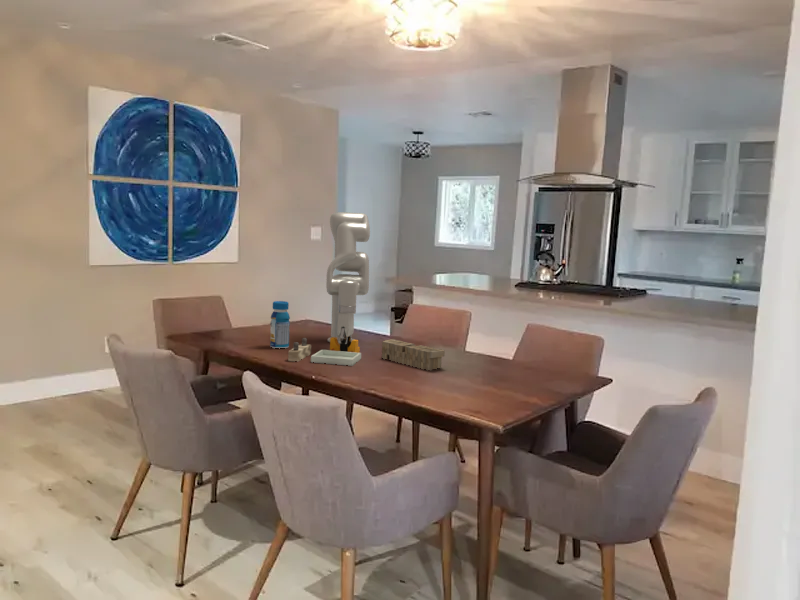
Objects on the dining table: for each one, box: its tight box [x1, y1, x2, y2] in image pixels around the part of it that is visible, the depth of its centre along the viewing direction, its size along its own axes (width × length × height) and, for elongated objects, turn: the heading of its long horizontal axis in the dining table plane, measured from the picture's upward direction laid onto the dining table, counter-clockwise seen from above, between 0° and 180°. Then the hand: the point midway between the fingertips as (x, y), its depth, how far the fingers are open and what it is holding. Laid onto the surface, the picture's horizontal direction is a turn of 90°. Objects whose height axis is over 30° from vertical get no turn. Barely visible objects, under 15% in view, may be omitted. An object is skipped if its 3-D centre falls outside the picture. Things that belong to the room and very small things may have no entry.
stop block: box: [287, 337, 312, 362], centre depth 260 cm, size 16×4×7 cm, turn 169°
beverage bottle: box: [269, 300, 291, 350], centre depth 277 cm, size 8×8×20 cm
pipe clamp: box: [329, 337, 361, 353], centre depth 272 cm, size 12×4×6 cm, turn 68°
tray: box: [310, 349, 362, 367], centre depth 257 cm, size 14×17×2 cm
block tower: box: [381, 338, 446, 371], centre depth 259 cm, size 8×8×29 cm
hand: (345, 351), depth 272 cm, fingers closed on pipe clamp, 4 cm apart
